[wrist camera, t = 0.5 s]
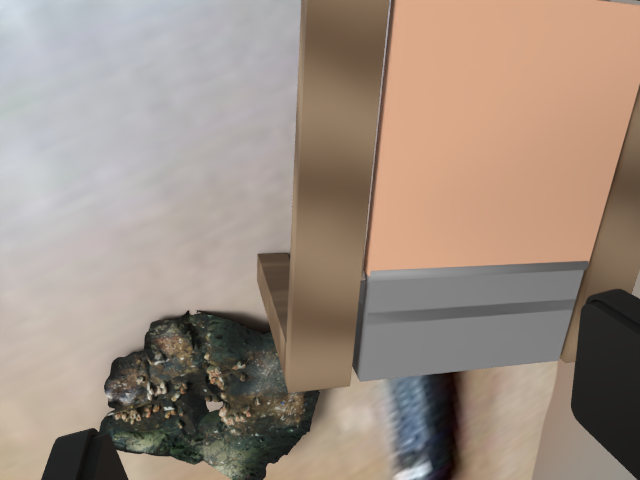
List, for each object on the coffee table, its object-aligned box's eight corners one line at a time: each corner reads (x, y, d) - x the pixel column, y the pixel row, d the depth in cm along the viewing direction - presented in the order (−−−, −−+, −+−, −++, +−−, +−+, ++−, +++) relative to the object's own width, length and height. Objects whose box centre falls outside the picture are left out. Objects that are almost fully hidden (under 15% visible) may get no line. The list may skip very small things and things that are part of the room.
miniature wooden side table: (263, -68, 31) (314, -155, 18) (551, -30, 36) (751, -76, 23) (257, 280, 40) (288, 392, 27) (489, 269, 45) (610, 357, 32)
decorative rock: (93, 502, 39) (67, 356, 33) (109, 442, 45) (90, 307, 38) (319, 479, 43) (335, 344, 37) (309, 427, 48) (321, 301, 42)
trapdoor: (369, -12, 24) (401, -23, 20) (599, 13, 27) (663, 7, 24) (338, 343, 31) (357, 383, 28) (522, 327, 35) (562, 361, 31)
